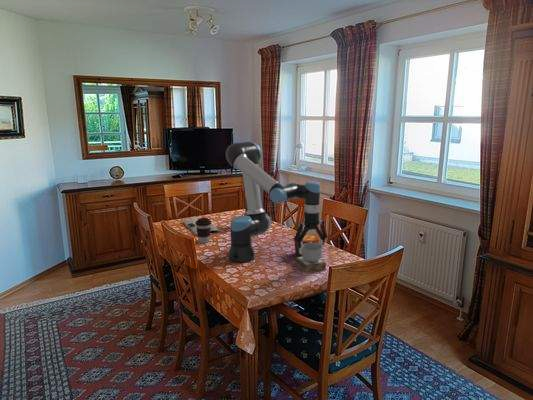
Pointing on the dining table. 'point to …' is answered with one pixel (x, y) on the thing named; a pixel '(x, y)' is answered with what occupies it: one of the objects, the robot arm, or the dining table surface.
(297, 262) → the pedestal
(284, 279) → the dining table surface
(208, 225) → the coffee cup
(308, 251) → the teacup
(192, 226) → the newspaper
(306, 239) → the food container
